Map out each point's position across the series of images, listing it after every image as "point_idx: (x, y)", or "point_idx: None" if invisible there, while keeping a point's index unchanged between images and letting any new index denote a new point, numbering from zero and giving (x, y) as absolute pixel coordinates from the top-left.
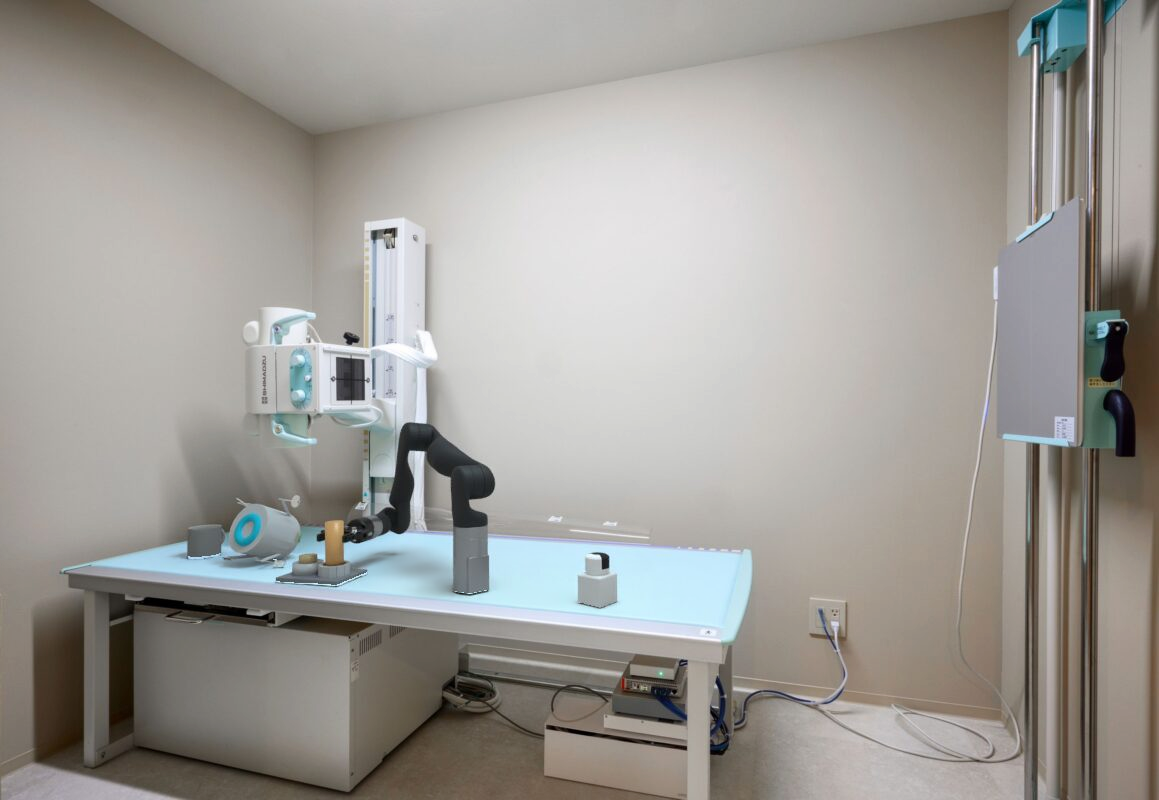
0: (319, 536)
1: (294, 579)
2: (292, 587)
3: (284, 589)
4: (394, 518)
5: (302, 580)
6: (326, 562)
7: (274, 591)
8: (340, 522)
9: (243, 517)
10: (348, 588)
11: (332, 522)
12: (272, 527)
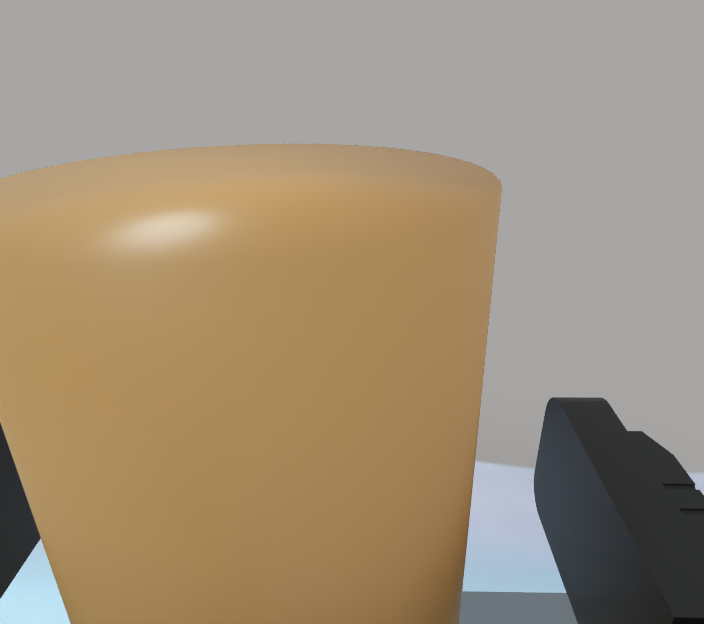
0: (547, 432)
1: (566, 595)
2: (491, 553)
3: (497, 509)
4: None
5: (484, 596)
6: None
7: (514, 472)
8: (26, 173)
9: None
10: (55, 610)
11: (246, 162)
12: None
